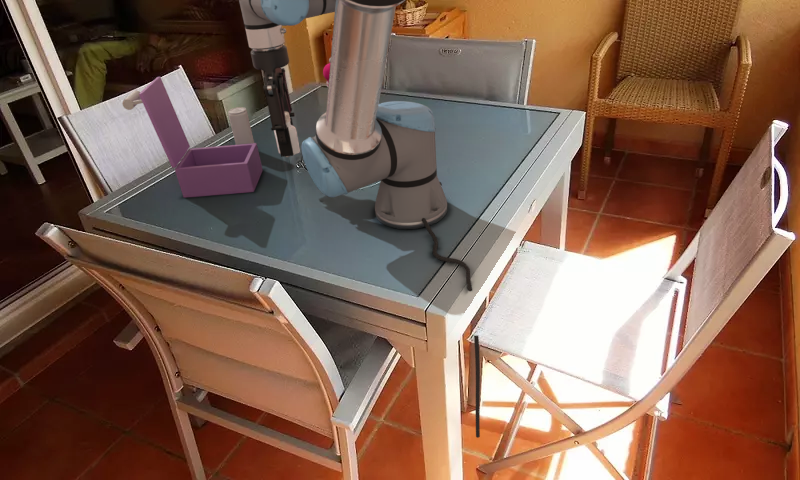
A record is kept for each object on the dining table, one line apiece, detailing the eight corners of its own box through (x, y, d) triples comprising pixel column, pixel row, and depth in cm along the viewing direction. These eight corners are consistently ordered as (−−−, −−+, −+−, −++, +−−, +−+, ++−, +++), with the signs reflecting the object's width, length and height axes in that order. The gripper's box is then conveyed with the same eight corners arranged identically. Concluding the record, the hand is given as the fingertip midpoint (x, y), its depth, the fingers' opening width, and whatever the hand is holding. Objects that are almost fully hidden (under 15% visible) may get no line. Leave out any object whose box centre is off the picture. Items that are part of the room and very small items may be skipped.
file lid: (160, 76, 132) (132, 82, 133) (142, 93, 122) (112, 99, 123) (190, 146, 142) (164, 151, 142) (175, 167, 132) (147, 172, 132)
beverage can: (259, 151, 156) (250, 108, 149) (244, 157, 153) (234, 114, 146) (249, 147, 159) (239, 105, 152) (234, 153, 156) (223, 111, 149)
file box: (262, 170, 145) (256, 142, 142) (254, 192, 136) (247, 163, 132) (197, 175, 146) (189, 148, 142) (183, 197, 136) (174, 169, 132)
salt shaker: (286, 158, 130) (278, 118, 125) (277, 153, 133) (269, 114, 128) (301, 153, 132) (294, 113, 127) (292, 148, 135) (285, 109, 130)
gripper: (279, 56, 112) (300, 165, 124) (291, 35, 127) (309, 134, 139) (241, 60, 112) (266, 168, 124) (258, 38, 127) (279, 137, 140)
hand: (289, 150), depth 132 cm, fingers closed on salt shaker, 5 cm apart
